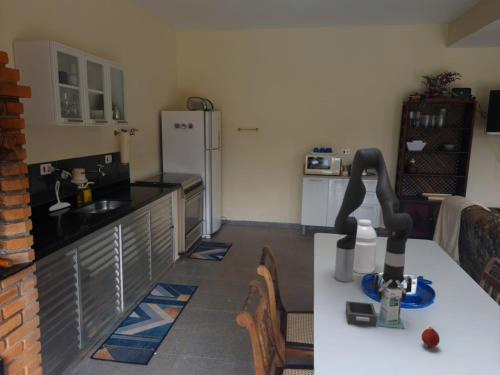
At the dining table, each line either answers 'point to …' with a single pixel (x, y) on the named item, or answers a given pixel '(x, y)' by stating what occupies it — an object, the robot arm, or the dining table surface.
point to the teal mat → (391, 325)
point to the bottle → (365, 248)
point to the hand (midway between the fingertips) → (390, 299)
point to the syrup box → (391, 305)
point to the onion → (430, 337)
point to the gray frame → (361, 318)
